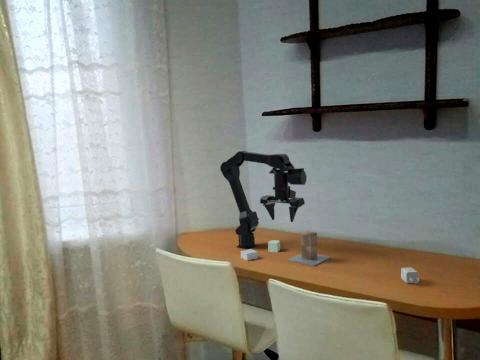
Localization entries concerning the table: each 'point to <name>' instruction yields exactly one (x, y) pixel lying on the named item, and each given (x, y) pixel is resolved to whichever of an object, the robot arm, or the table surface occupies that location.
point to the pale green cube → (273, 246)
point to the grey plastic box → (249, 254)
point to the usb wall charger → (409, 275)
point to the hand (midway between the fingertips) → (282, 221)
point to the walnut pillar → (308, 245)
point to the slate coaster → (309, 262)
